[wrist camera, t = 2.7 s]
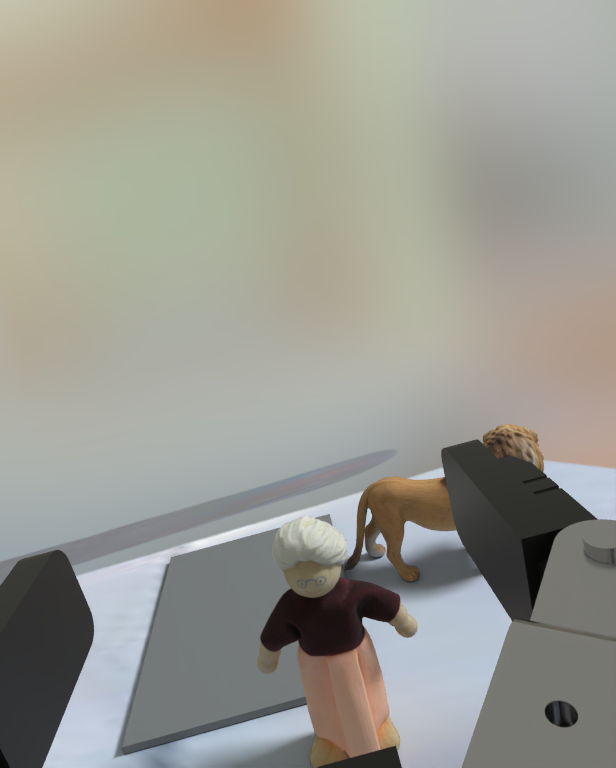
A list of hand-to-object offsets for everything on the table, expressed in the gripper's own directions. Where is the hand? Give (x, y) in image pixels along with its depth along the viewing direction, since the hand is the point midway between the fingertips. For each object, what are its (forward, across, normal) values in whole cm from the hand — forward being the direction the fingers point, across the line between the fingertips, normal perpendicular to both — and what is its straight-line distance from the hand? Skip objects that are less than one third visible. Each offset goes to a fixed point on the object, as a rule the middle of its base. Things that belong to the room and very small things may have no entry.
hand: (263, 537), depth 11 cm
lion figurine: (+23, -9, +19) cm, 31 cm away
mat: (+23, +6, +19) cm, 30 cm away
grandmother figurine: (+11, 0, +19) cm, 22 cm away
